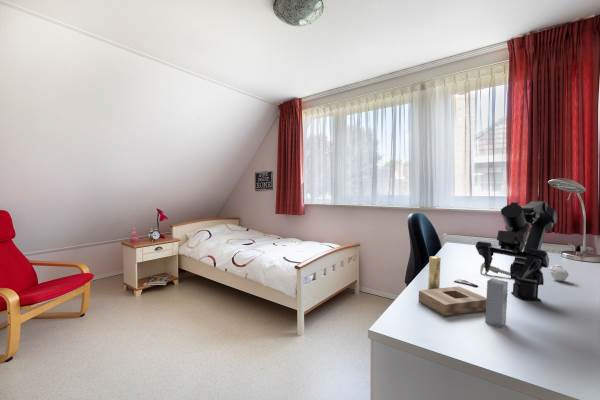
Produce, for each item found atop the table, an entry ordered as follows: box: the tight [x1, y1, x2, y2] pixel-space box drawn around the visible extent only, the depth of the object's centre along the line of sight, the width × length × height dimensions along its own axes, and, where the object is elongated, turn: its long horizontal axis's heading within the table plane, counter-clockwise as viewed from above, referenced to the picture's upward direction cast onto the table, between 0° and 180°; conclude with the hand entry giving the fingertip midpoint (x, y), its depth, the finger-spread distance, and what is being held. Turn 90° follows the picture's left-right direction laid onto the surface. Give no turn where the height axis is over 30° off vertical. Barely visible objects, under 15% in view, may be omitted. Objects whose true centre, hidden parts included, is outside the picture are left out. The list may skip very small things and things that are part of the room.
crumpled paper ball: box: [548, 264, 570, 282], centre depth 120 cm, size 6×7×7 cm
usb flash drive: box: [453, 278, 479, 288], centre depth 115 cm, size 9×5×1 cm, turn 17°
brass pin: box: [427, 255, 442, 290], centre depth 107 cm, size 4×4×13 cm
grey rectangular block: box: [484, 278, 509, 330], centre depth 80 cm, size 4×4×13 cm
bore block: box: [418, 286, 487, 318], centre depth 92 cm, size 18×12×4 cm, turn 105°
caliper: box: [479, 260, 511, 277], centre depth 124 cm, size 20×1×6 cm, turn 55°
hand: (502, 274), depth 85 cm, fingers open, 9 cm apart
